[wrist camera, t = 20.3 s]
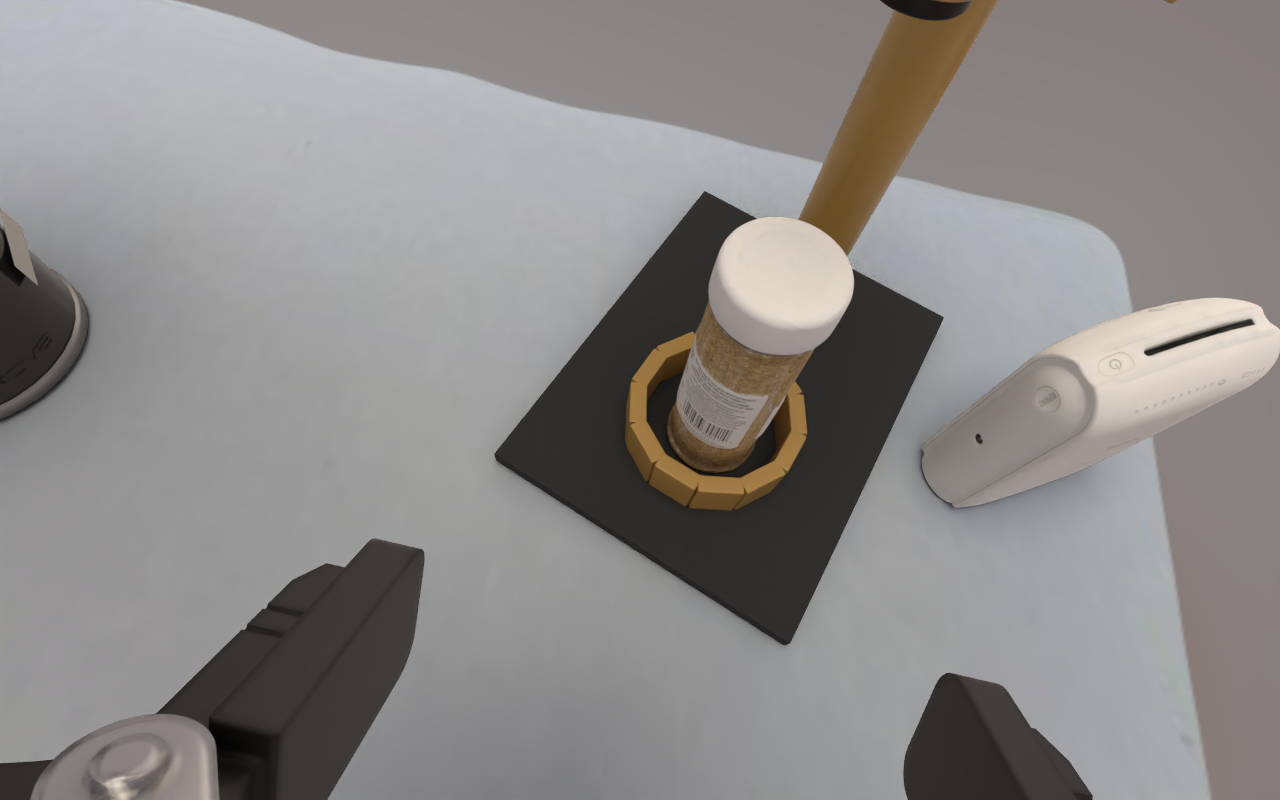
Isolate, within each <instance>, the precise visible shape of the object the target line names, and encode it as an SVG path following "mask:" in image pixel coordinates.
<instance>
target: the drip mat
mask: <svg viewBox="0 0 1280 800" xmlns="http://www.w3.org/2000/svg"><path fill="white" fill-rule="evenodd" d="M755 219H757V218H755V217H753V216H751V215H749V214H747V213H745V212H743V211H741V210H740V209H738V208H736V207H734V206H732V205H730V204H728V203H726V202H724V201H723V200H721V199H719V198H717V197H715V196H713V195H711V194H709V193H707V192H706V191H705V192H704V193H703V194H702V195H701V196H700V198H699V199H698V200H697V201H696V203H695V204H694V205H693V206H692V208H691V209H690V210H689V211H688V213H687V214H686V215H685V216H684V218H683V219H682V220H681V221H680V223H679V224H678V225H677V226H676V228H675V229H674V230H673V231H672V233H671V234H670V235H669V236H668V238H667V239H666V240H665V241H664V243H663V244H662V245H661V246H660V248H659V249H658V250H657V251H656V253H655V254H654V255H653V256H652V258H651V259H650V260H649V261H648V263H647V264H646V265H645V266H644V268H643V269H642V270H641V271H640V273H639V274H638V275H637V276H636V278H635V279H634V280H633V281H632V283H631V284H630V285H629V286H628V288H627V289H626V290H625V291H624V293H623V294H622V295H621V296H620V298H619V299H618V300H617V301H616V303H615V304H614V305H613V306H612V308H611V309H610V310H609V311H608V313H607V314H606V315H605V316H604V318H603V319H602V320H601V321H600V323H599V324H598V325H597V326H596V328H595V329H594V330H593V331H592V333H591V334H590V335H589V336H588V338H587V339H586V340H585V341H584V343H583V344H582V345H581V346H580V348H579V349H578V350H577V351H576V353H575V354H574V355H573V356H572V358H571V359H570V360H569V361H568V363H567V364H566V365H565V366H564V368H563V369H562V370H561V371H560V373H559V374H558V375H557V376H556V378H555V379H554V380H553V381H552V383H551V384H550V385H549V386H548V388H547V389H546V390H545V391H544V393H543V394H542V395H541V396H540V398H539V399H538V400H537V401H536V403H535V404H534V405H533V406H532V408H531V409H530V410H529V411H528V413H527V414H526V415H525V416H524V418H523V419H522V420H521V421H520V423H519V424H518V425H517V426H516V428H515V429H514V430H513V431H512V433H511V434H510V435H509V436H508V438H507V439H506V440H505V441H504V443H503V444H502V445H501V446H500V448H499V449H498V450H497V451H496V453H495V458H496V460H497V461H498V462H500V463H501V464H503V465H504V466H506V467H507V468H509V469H511V470H512V471H514V472H515V473H517V474H518V475H520V476H521V477H523V478H525V479H526V480H528V481H529V482H531V483H532V484H534V485H535V486H537V487H539V488H540V489H542V490H543V491H545V492H546V493H548V494H549V495H551V496H553V497H554V498H556V499H557V500H559V501H560V502H562V503H564V504H565V505H567V506H568V507H570V508H571V509H573V510H574V511H576V512H578V513H579V514H581V515H582V516H584V517H585V518H587V519H588V520H590V521H592V522H593V523H595V524H596V525H598V526H599V527H601V528H602V529H604V530H606V531H607V532H609V533H610V534H612V535H613V536H615V537H616V538H618V539H620V540H621V541H623V542H624V543H626V544H627V545H629V546H631V547H632V548H634V549H635V550H637V551H638V552H640V553H641V554H643V555H645V556H646V557H648V558H649V559H651V560H652V561H654V562H655V563H657V564H659V565H660V566H662V567H663V568H665V569H666V570H668V571H669V572H671V573H673V574H674V575H676V576H677V577H679V578H680V579H682V580H683V581H685V582H687V583H688V584H690V585H691V586H693V587H694V588H696V589H698V590H699V591H701V592H702V593H704V594H705V595H707V596H708V597H710V598H712V599H713V600H715V601H716V602H718V603H719V604H721V605H722V606H724V607H726V608H727V609H729V610H730V611H732V612H733V613H735V614H736V615H738V616H740V617H741V618H743V619H744V620H746V621H747V622H749V623H750V624H752V625H754V626H755V627H757V628H758V629H760V630H761V631H763V632H765V633H766V634H768V635H769V636H771V637H772V638H774V639H775V640H777V641H779V642H780V643H782V644H783V645H787V644H789V643H790V642H791V640H792V638H793V636H794V634H795V632H796V630H797V628H798V625H799V623H800V621H801V619H802V617H803V615H804V613H805V611H806V609H807V606H808V604H809V602H810V600H811V598H812V596H813V594H814V592H815V589H816V587H817V585H818V583H819V581H820V579H821V577H822V575H823V573H824V570H825V568H826V566H827V564H828V562H829V560H830V558H831V556H832V553H833V551H834V549H835V547H836V545H837V543H838V541H839V539H840V537H841V534H842V532H843V530H844V528H845V526H846V524H847V522H848V520H849V517H850V515H851V513H852V511H853V509H854V507H855V505H856V503H857V501H858V498H859V496H860V494H861V492H862V490H863V488H864V486H865V484H866V481H867V479H868V477H869V475H870V473H871V471H872V469H873V467H874V464H875V462H876V460H877V458H878V456H879V454H880V452H881V450H882V448H883V445H884V443H885V441H886V439H887V437H888V435H889V433H890V431H891V428H892V426H893V424H894V422H895V420H896V418H897V416H898V414H899V412H900V409H901V407H902V405H903V403H904V401H905V399H906V397H907V395H908V392H909V390H910V388H911V386H912V384H913V382H914V380H915V378H916V376H917V373H918V371H919V369H920V367H921V365H922V363H923V361H924V359H925V356H926V354H927V352H928V350H929V348H930V346H931V344H932V342H933V340H934V337H935V335H936V333H937V331H938V329H939V327H940V325H941V323H942V320H943V318H944V317H942V316H940V315H938V314H936V313H935V312H933V311H931V310H929V309H927V308H925V307H923V306H921V305H919V304H918V303H916V302H914V301H912V300H910V299H908V298H906V297H904V296H902V295H900V294H899V293H897V292H895V291H893V290H891V289H889V288H887V287H885V286H883V285H882V284H880V283H878V282H876V281H874V280H872V279H870V278H868V277H866V276H865V275H863V274H861V273H859V272H857V271H855V270H853V269H852V270H853V276H854V289H853V295H852V298H851V301H850V303H849V305H848V307H847V309H846V311H845V312H844V314H843V316H842V318H841V319H840V321H839V323H838V324H837V326H836V327H835V329H834V330H833V332H832V333H831V335H830V336H829V337H828V338H827V339H826V340H825V341H824V342H823V343H821V344H820V345H818V346H817V347H816V348H815V349H814V351H813V352H812V354H811V356H810V357H809V359H808V361H807V362H806V363H805V365H804V367H803V369H802V371H801V372H800V373H799V375H798V377H797V378H796V380H795V382H796V383H797V385H798V386H799V388H800V389H801V390H802V393H801V394H800V395H803V396H804V404H805V415H806V425H807V435H806V440H805V442H804V444H803V446H802V447H801V449H800V451H799V453H798V455H797V457H796V459H795V460H794V462H793V464H792V466H791V468H790V470H789V471H788V473H787V474H786V475H785V476H784V477H783V478H782V480H781V481H780V482H779V483H778V484H777V485H776V487H775V488H774V489H773V490H772V491H771V492H769V493H768V494H766V495H764V496H762V497H760V498H758V499H756V500H754V501H752V502H750V503H748V504H746V505H745V506H743V507H741V508H739V509H737V510H735V509H734V508H733V509H732V510H731V511H729V510H712V509H695V508H689V503H688V504H687V506H683V505H681V504H680V503H678V502H677V501H675V500H673V499H672V498H670V497H669V496H667V495H665V494H664V493H662V492H661V491H659V490H657V489H656V488H654V487H652V486H651V485H650V484H649V481H650V480H649V481H645V479H644V478H643V476H642V474H641V472H640V470H639V469H638V467H637V465H636V463H635V461H634V460H633V458H632V456H631V454H630V453H629V451H628V449H627V447H626V443H625V426H626V405H627V399H628V394H629V389H630V383H631V382H632V378H633V377H634V375H635V374H636V373H637V371H638V370H639V369H640V367H641V366H642V364H643V363H644V362H645V360H646V359H647V358H648V356H649V355H650V353H651V352H652V351H653V349H656V348H657V346H659V345H662V344H664V343H666V342H669V341H671V340H674V339H676V338H678V337H681V336H683V335H686V334H688V333H691V332H694V334H695V333H696V332H697V329H698V327H699V325H700V323H701V321H702V318H703V316H704V313H705V310H706V306H707V304H708V300H709V293H708V290H709V282H710V278H711V274H712V271H713V268H714V265H715V262H716V260H717V257H718V254H719V251H720V249H721V247H722V245H723V243H724V241H725V240H726V239H727V237H728V236H729V235H730V234H731V233H732V232H733V231H734V230H735V229H737V228H738V227H740V226H742V225H743V224H745V223H747V222H750V221H752V220H755ZM683 373H684V372H682V373H680V374H677V375H675V376H673V377H670V378H668V379H666V380H663V381H661V382H660V383H659V385H658V386H657V387H656V389H655V390H654V392H653V393H652V395H651V396H650V397H649V399H648V400H647V417H646V421H647V423H648V424H649V426H650V428H651V430H652V431H653V433H654V435H655V436H656V438H657V440H658V442H659V443H660V445H661V447H662V448H663V450H664V452H665V454H666V455H668V456H669V457H671V458H673V459H674V460H676V461H678V462H679V463H681V464H683V465H684V466H686V467H688V468H689V469H691V470H692V471H694V472H696V473H697V474H699V475H703V476H719V477H735V478H741V477H743V476H745V475H747V474H749V473H751V472H753V471H755V470H757V469H759V468H761V467H763V466H765V465H767V464H769V462H770V460H771V458H772V457H773V455H774V453H775V451H776V438H775V424H774V417H773V419H772V421H771V422H770V424H769V425H768V427H767V428H766V430H765V431H764V432H763V433H762V435H760V436H759V438H758V439H757V441H756V443H755V447H754V449H753V451H752V452H751V454H750V456H749V457H748V458H747V460H746V461H745V462H744V463H743V464H741V465H740V466H739V467H737V468H736V469H734V470H732V471H727V472H721V473H707V472H702V471H698V470H696V469H694V468H692V467H690V466H689V465H687V464H685V463H684V461H683V460H681V459H680V458H679V457H678V456H677V455H676V453H675V452H674V451H673V449H672V447H671V445H670V443H669V439H668V436H667V422H668V416H669V414H670V412H671V410H672V408H673V406H674V405H675V403H676V400H677V393H678V389H679V385H680V382H681V379H682V376H683Z"/></svg>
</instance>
